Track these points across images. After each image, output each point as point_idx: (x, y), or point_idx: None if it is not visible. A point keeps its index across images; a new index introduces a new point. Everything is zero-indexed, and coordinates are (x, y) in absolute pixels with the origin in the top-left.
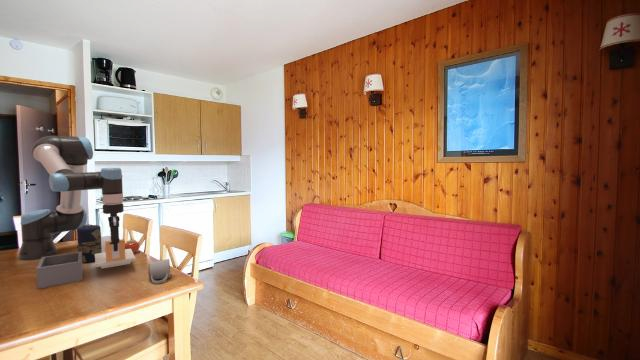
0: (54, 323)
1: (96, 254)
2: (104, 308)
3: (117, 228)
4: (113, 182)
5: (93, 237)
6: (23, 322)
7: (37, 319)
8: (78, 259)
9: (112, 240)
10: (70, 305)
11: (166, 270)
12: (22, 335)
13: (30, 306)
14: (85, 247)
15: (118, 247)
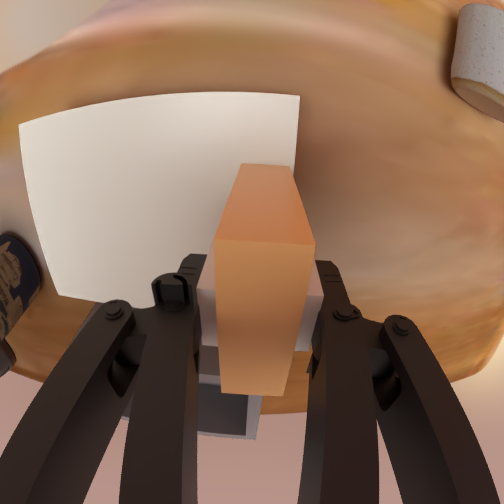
0: (494, 337)
1: (68, 291)
2: None
3: (482, 487)
4: None
5: None
6: (447, 373)
7: (457, 361)
8: (210, 381)
9: (398, 388)
10: (454, 327)
11: None
12: (485, 362)
13: None
14: (10, 319)
15: (314, 269)
